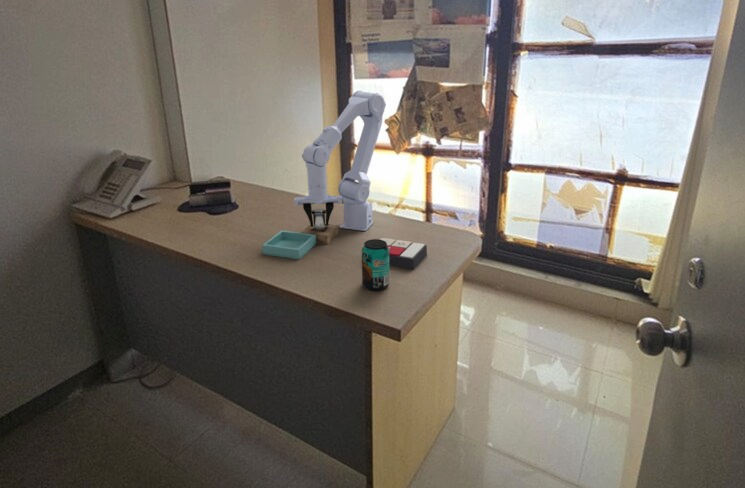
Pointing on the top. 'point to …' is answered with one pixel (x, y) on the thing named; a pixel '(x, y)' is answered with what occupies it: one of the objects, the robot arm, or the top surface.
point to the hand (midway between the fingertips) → (319, 225)
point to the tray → (289, 244)
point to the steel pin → (319, 219)
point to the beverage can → (375, 265)
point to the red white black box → (405, 253)
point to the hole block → (323, 233)
